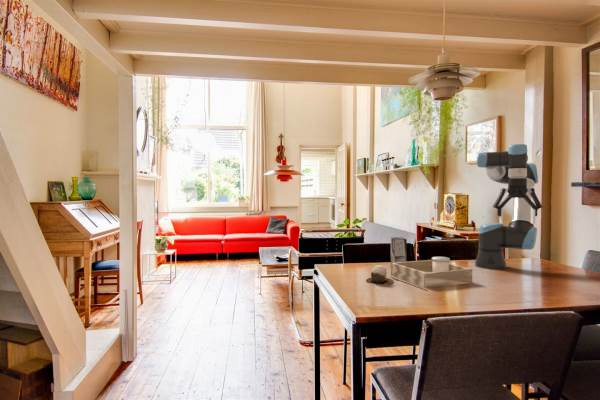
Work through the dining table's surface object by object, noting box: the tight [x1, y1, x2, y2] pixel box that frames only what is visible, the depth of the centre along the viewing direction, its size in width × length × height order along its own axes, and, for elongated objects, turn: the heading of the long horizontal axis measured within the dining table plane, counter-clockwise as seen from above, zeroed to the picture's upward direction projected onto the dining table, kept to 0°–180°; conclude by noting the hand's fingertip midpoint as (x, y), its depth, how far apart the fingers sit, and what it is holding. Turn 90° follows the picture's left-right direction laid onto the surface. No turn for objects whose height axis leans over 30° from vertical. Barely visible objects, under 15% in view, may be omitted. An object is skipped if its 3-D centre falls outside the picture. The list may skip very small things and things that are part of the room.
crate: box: [390, 259, 473, 291], centre depth 166 cm, size 24×24×7 cm
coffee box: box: [390, 236, 408, 264], centre depth 194 cm, size 9×6×16 cm
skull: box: [365, 264, 394, 286], centre depth 166 cm, size 12×10×10 cm
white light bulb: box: [431, 256, 451, 272], centre depth 168 cm, size 8×8×9 cm
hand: (516, 223), depth 172 cm, fingers open, 13 cm apart
